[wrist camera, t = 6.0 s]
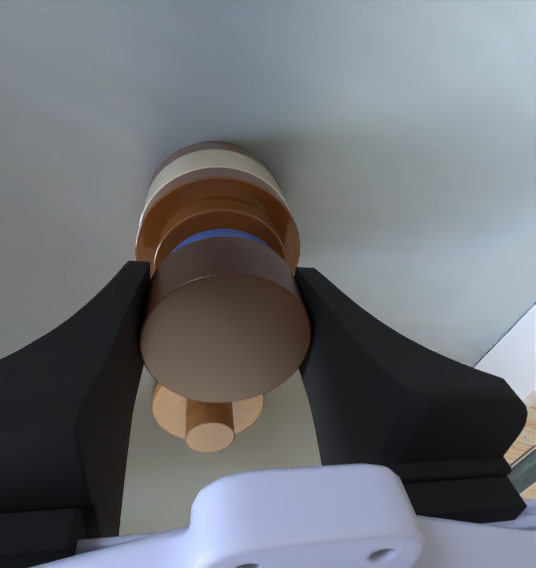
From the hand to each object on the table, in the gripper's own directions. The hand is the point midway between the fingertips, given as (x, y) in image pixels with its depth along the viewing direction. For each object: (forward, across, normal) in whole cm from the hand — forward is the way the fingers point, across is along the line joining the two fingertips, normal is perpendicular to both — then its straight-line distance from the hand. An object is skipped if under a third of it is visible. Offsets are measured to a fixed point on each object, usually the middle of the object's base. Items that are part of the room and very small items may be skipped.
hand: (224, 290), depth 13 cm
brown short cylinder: (-1, 0, 0) cm, 1 cm away
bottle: (+7, 0, 0) cm, 7 cm away
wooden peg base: (+7, 0, +13) cm, 14 cm away
